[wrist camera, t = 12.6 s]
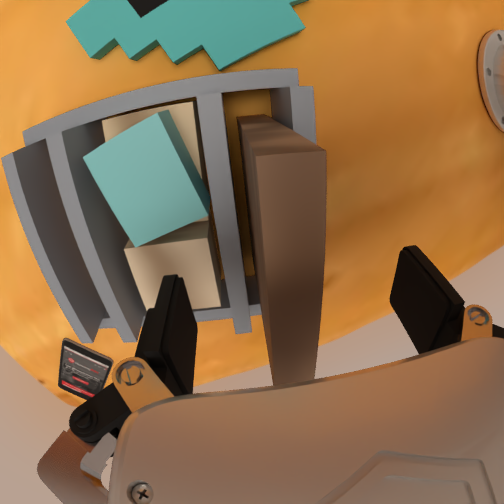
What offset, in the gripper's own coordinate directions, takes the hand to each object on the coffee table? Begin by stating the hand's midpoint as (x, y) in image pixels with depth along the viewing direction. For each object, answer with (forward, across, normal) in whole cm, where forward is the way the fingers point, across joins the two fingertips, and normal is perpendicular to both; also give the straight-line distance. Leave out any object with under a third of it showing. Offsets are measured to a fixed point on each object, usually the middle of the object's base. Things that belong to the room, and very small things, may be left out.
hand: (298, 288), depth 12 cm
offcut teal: (+9, +7, -4) cm, 12 cm away
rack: (+12, +8, 0) cm, 15 cm away
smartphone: (+12, +28, +23) cm, 38 cm away
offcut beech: (+13, +8, +4) cm, 15 cm away
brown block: (+13, +1, 0) cm, 13 cm away
